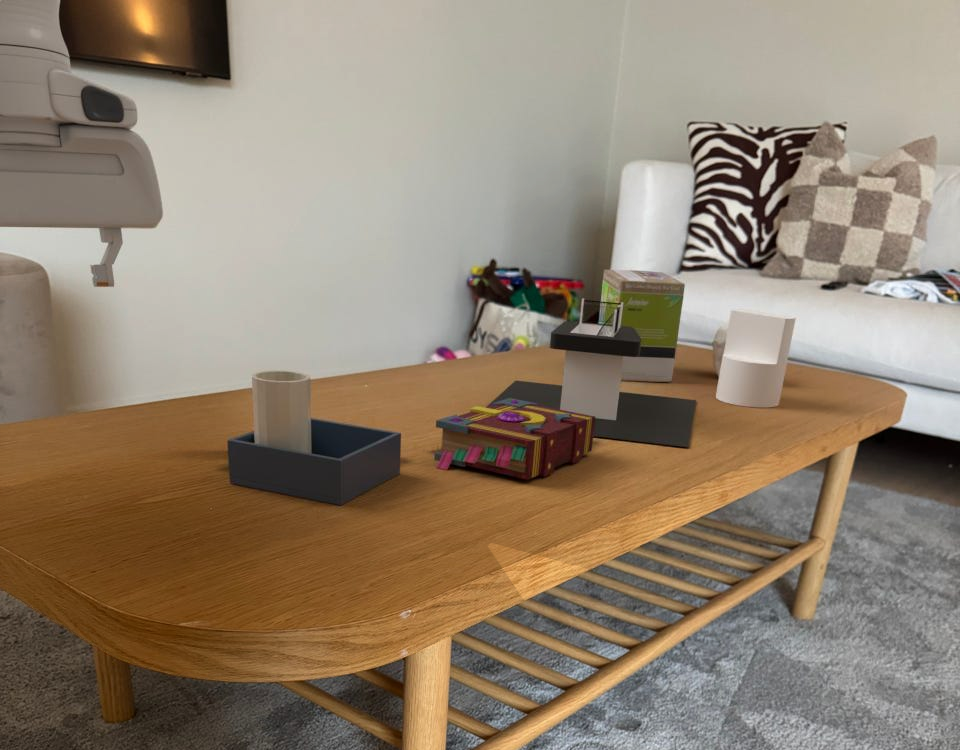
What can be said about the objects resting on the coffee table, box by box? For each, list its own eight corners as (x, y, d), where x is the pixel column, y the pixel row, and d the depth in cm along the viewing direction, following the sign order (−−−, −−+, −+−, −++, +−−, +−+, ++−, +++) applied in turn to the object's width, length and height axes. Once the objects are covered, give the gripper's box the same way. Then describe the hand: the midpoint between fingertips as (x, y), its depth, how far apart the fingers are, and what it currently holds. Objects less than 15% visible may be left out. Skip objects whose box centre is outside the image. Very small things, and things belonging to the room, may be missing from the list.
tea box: (592, 362, 159) (602, 267, 153) (651, 365, 160) (664, 271, 154) (608, 380, 146) (620, 277, 139) (673, 383, 147) (688, 281, 140)
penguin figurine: (729, 316, 155) (800, 334, 149) (715, 369, 159) (784, 388, 154) (714, 319, 150) (787, 338, 145) (700, 373, 154) (771, 393, 149)
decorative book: (594, 455, 106) (599, 410, 104) (523, 488, 93) (527, 437, 91) (505, 436, 111) (508, 393, 109) (427, 465, 98) (429, 416, 96)
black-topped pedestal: (688, 448, 111) (707, 329, 105) (469, 422, 116) (476, 307, 110) (695, 401, 136) (711, 302, 130) (515, 381, 141) (522, 285, 135)
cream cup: (256, 480, 88) (252, 381, 84) (254, 464, 93) (251, 369, 89) (313, 479, 89) (312, 382, 85) (309, 464, 94) (307, 370, 90)
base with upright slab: (790, 402, 139) (807, 316, 134) (759, 410, 133) (777, 320, 128) (735, 391, 145) (750, 307, 139) (703, 397, 139) (718, 311, 133)
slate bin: (340, 505, 85) (340, 460, 83) (229, 483, 89) (226, 439, 87) (400, 473, 95) (401, 432, 93) (297, 454, 99) (296, 415, 97)
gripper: (-142, 81, 67) (-98, 291, 72) (156, 103, 77) (176, 287, 82) (-140, 93, 72) (-99, 288, 78) (138, 112, 82) (158, 285, 87)
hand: (44, 287), depth 80 cm, fingers open, 8 cm apart
